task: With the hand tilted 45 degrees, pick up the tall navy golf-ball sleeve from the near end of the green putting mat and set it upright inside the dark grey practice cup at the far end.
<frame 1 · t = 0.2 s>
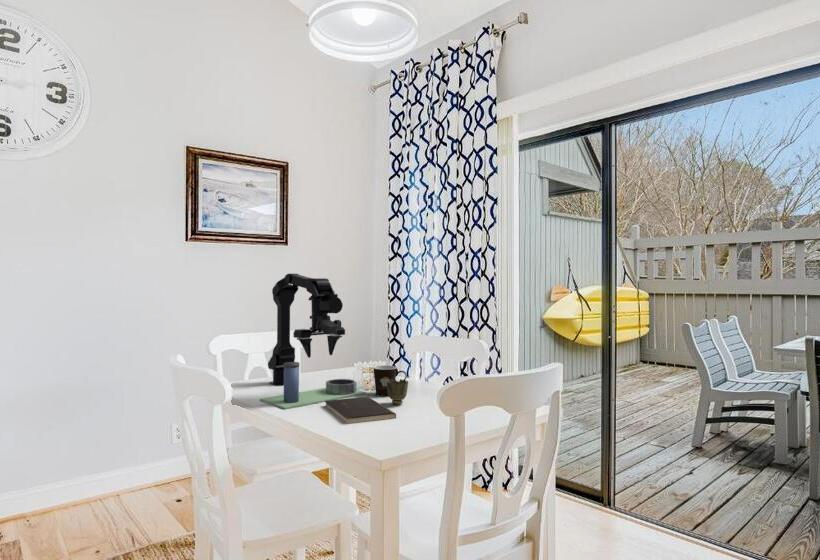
hand: (320, 356, 188), 14 cm above the table, tool pointing down, fingers open, 9 cm apart
golf ball sleeve: (291, 401, 177), point 1 cm above the table, touching putting mat
putting mat: (314, 397, 187), on the table
cup: (397, 404, 178), on the table
coffee mug: (388, 395, 192), on the table
practice cup: (341, 391, 194), resting on putting mat
hardcover book: (358, 414, 168), on the table
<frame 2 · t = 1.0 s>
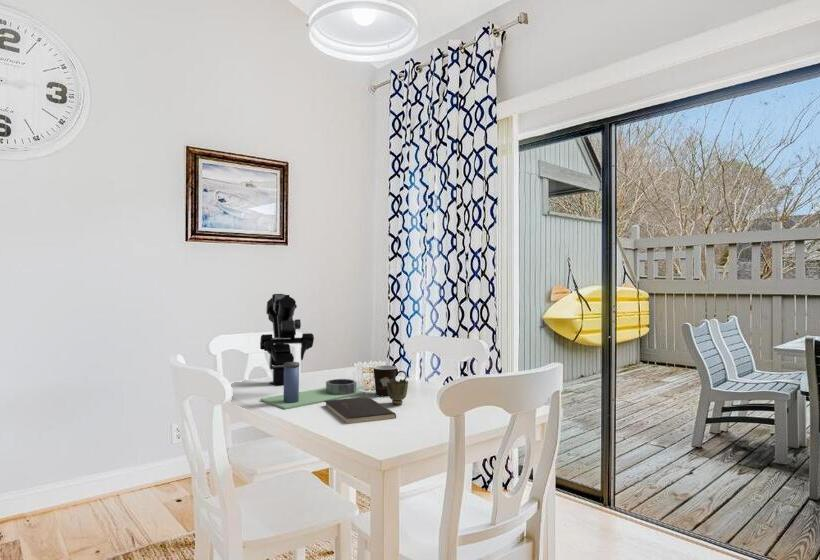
hand: (289, 360, 185), 13 cm above the table, tool tilted 45°, fingers open, 9 cm apart
nothing on the table moved.
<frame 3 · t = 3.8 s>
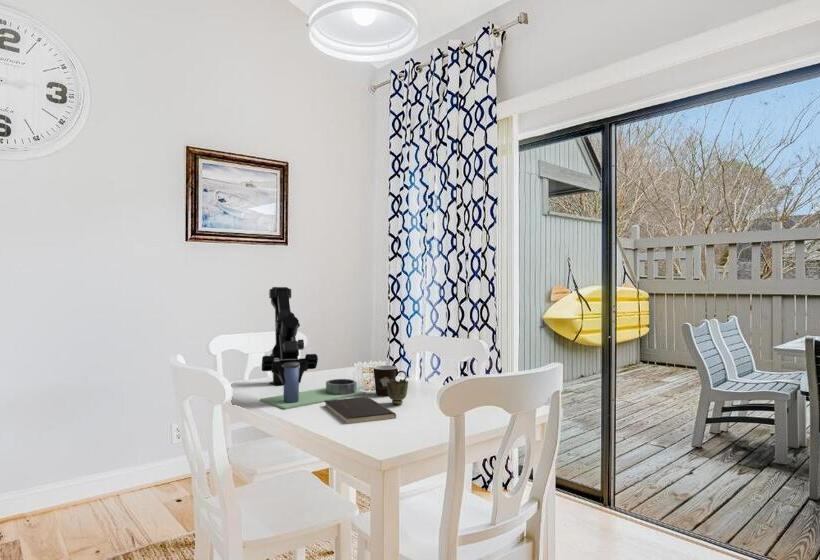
hand: (291, 382, 176), 7 cm above the table, tool tilted 45°, fingers closed on golf ball sleeve, 5 cm apart
golf ball sleeve: (291, 401, 177), point 1 cm above the table, touching gripper, putting mat
everything else where it was.
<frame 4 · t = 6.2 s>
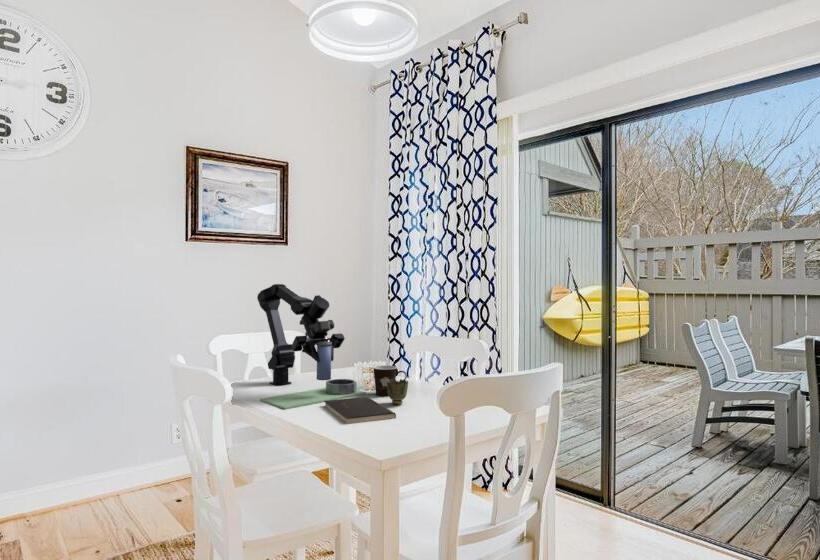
hand: (325, 361, 184), 13 cm above the table, tool tilted 45°, fingers closed on golf ball sleeve, 5 cm apart
golf ball sleeve: (323, 378, 185), point 7 cm above the table, touching gripper
everything else where it was.
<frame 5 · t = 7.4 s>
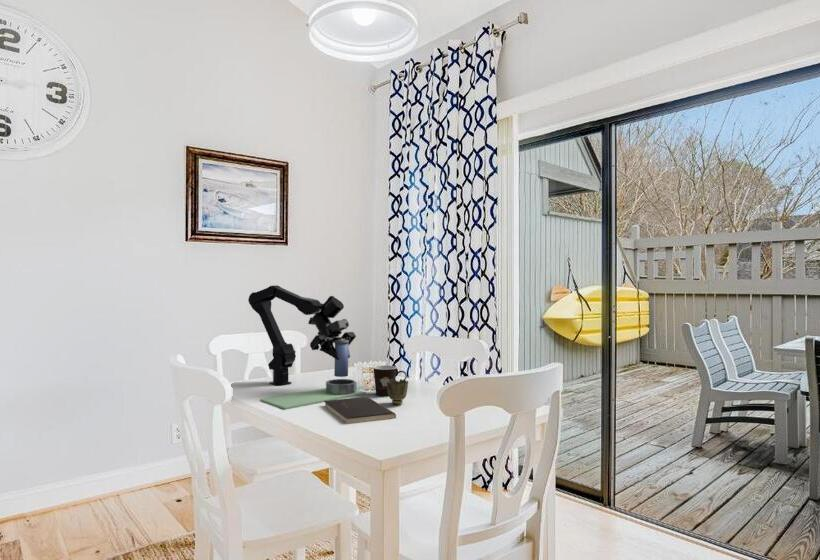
hand: (343, 358, 193), 13 cm above the table, tool tilted 45°, fingers closed on golf ball sleeve, 5 cm apart
golf ball sleeve: (341, 375, 194), point 6 cm above the table, touching gripper
everything else where it was.
when the fingers open (9 cm above the table, at t = 8.6 s): golf ball sleeve drops 1 cm, resting on practice cup.
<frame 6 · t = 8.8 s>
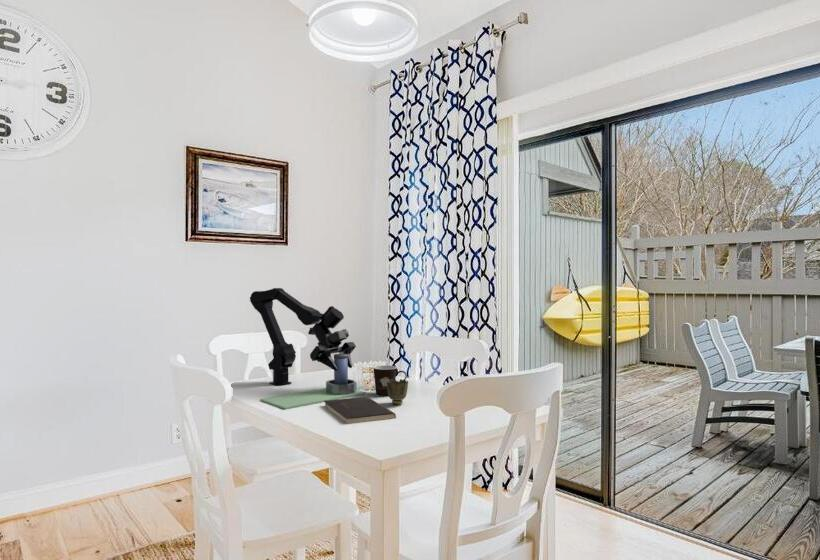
hand: (343, 368, 193), 9 cm above the table, tool tilted 45°, fingers open, 7 cm apart
golf ball sleeve: (341, 389, 194), point 1 cm above the table, touching practice cup
everything else where it was.
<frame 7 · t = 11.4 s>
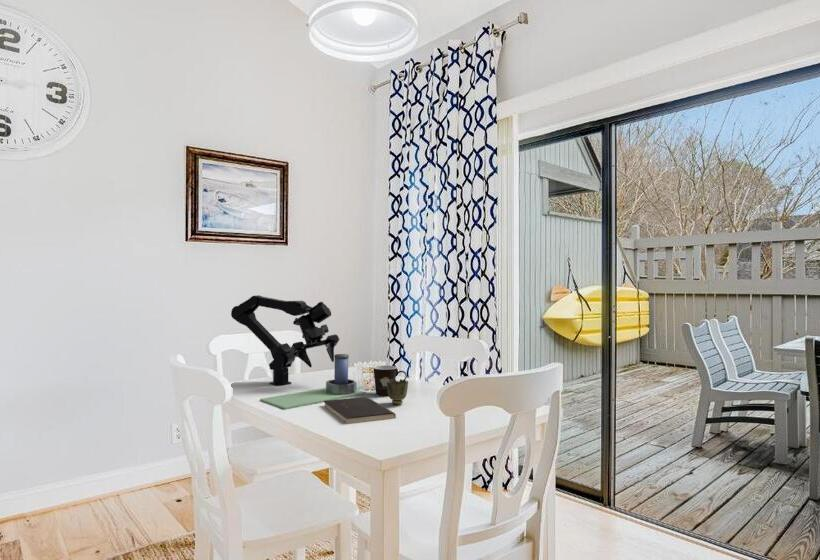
hand: (322, 364, 198), 10 cm above the table, tool tilted 35°, fingers open, 9 cm apart
nothing on the table moved.
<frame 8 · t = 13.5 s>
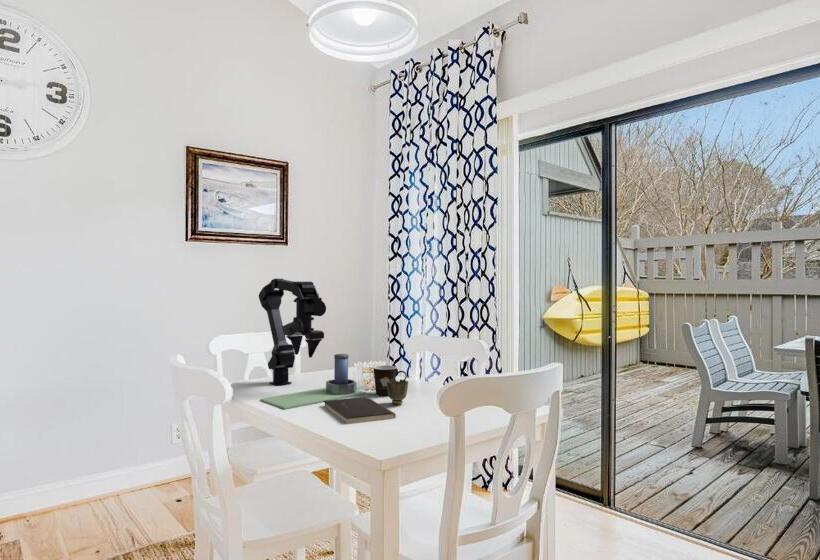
hand: (303, 355, 197), 13 cm above the table, tool pointing down, fingers open, 9 cm apart
nothing on the table moved.
at the end: golf ball sleeve 0.0 cm off-centre on the practice cup, point 0.5 cm above the practice cup's base; golf ball sleeve tilted 0°; the gripper is holding nothing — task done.
